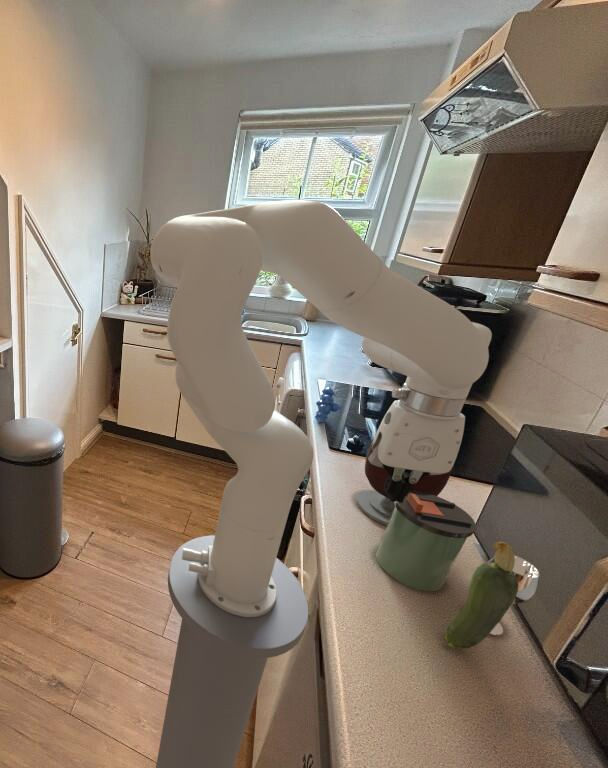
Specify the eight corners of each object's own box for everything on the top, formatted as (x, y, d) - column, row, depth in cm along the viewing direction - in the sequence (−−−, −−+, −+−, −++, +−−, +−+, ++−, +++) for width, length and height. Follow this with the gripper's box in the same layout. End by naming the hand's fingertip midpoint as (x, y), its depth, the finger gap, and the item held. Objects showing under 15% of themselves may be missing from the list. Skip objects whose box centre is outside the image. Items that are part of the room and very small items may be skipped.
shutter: (415, 513, 68) (419, 505, 67) (406, 499, 71) (409, 492, 70) (443, 517, 67) (447, 510, 66) (432, 504, 70) (435, 496, 69)
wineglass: (497, 645, 60) (533, 586, 56) (452, 612, 65) (483, 556, 61) (516, 631, 63) (553, 573, 58) (472, 600, 67) (503, 545, 63)
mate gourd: (439, 540, 80) (480, 454, 73) (360, 522, 84) (390, 439, 77) (411, 494, 94) (443, 417, 86) (344, 480, 98) (368, 406, 90)
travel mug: (386, 584, 70) (413, 523, 65) (364, 540, 79) (386, 483, 74) (459, 600, 67) (493, 537, 62) (427, 552, 77) (454, 494, 72)
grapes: (334, 433, 120) (345, 396, 115) (309, 427, 123) (319, 391, 118) (336, 418, 129) (346, 384, 125) (312, 413, 132) (322, 379, 128)
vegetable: (476, 651, 59) (540, 546, 52) (474, 672, 56) (541, 565, 49) (439, 630, 62) (493, 528, 54) (435, 649, 59) (492, 545, 52)
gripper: (386, 404, 61) (352, 502, 68) (503, 418, 57) (455, 520, 65) (368, 385, 67) (338, 477, 74) (472, 397, 64) (431, 491, 71)
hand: (393, 496), depth 69 cm, fingers closed
